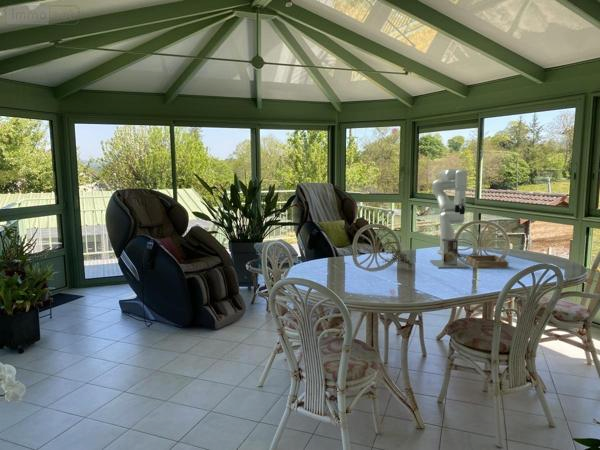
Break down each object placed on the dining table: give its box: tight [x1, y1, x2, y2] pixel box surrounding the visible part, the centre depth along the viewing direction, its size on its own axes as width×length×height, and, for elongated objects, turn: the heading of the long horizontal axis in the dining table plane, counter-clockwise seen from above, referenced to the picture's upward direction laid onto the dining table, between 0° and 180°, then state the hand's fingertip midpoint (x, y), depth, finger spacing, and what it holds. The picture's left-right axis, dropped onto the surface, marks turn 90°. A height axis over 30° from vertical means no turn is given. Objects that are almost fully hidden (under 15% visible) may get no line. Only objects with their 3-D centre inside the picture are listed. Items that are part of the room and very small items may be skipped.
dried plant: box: [356, 222, 415, 269], centre depth 292 cm, size 30×31×45 cm
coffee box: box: [440, 238, 459, 264], centre depth 296 cm, size 9×6×16 cm
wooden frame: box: [465, 254, 509, 269], centre depth 296 cm, size 20×20×4 cm
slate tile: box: [429, 259, 470, 269], centre depth 297 cm, size 20×20×1 cm
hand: (459, 213), depth 304 cm, fingers open, 9 cm apart
